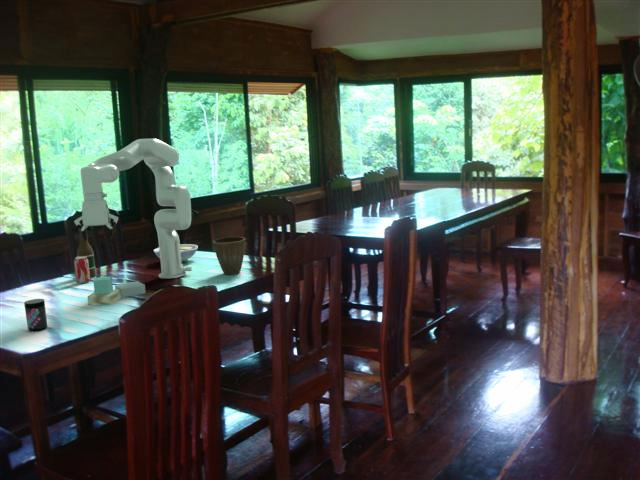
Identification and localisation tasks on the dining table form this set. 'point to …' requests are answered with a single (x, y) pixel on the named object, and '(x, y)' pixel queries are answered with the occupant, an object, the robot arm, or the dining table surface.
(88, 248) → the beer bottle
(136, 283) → the slate block
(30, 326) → the supplement container
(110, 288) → the teal cube
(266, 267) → the dining table surface
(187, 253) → the ramen bowl
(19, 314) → the dining table surface
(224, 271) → the plant pot
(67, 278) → the dining table surface
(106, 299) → the tan flat lump
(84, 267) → the beverage can
